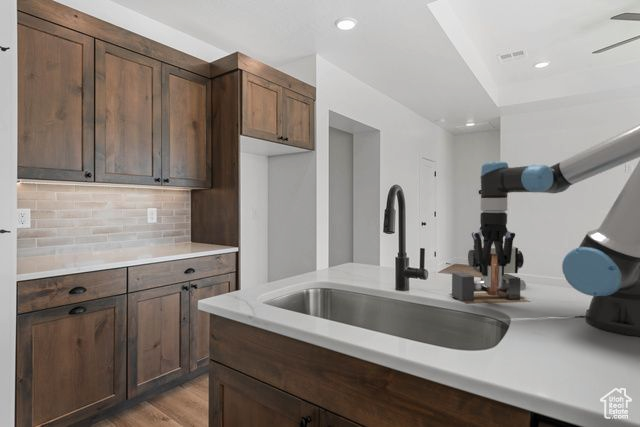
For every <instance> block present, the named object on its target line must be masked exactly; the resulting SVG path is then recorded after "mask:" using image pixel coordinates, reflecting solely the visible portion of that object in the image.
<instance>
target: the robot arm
mask: <svg viewBox="0 0 640 427" xmlns="http://www.w3.org/2000/svg"><path fill="white" fill-rule="evenodd" d="M638 158H640V123H639V124H636V125H635V126H632V127H631V128H629V129H626V130H625V131H622V132H620V133H618V134H616V135H613V136H611V137H609V138H607V139H606V140H603V141H601V142H599V143H597V144H594V145H593V146H591V147H589V148H586V149H585V150H582V151H580V152H578V153H576V154H574V155H572V156H570V157H568V158H566V159H563V160H561V161H560V162H558V163H555V164H553V165H551V166H548V165H546V164H531V165H525V166H516V167H509V163H508V162H506V161H490V162H486V163H483V164H482V166H481V172H480V194H481V195H480V211H482V212H480V217H479V218H480V221H479V222H480V223H479V224H480V227H479V230H477V231H476V232H472V233H471V237H472V239H473V244H474V245H473V249H475V261H476V263H479V264H481V265H482V273H481V276H482V277H484V286H487V287H491V266H488V265H489V259H490V253H491V246H492V245H493V242H494V244H495V251H496V253H497V254H498V287H502V276H503V275H504V274H505V273H504V266H506V265H507V264H510V262H511V253H512V247H513V245H514V244H513V243H514V239H515V236H516V233H515V232H511V231H509V230H508V228H507V224H508V213H507V211H508V194H509V193H511V194H512V193H545V194H559V193H563V192H565V191H567V190H568V189H569V188H570V187H571V186H572V185H575V184H577V183H580V182H582V181H585V180H587V179H589V178H592V177H595V176H596V175H599V174H602V173H605V172H607V171H609V170H612V169H614V168H617V167H618V166H621V165H623V164H626V163H628V162H632V161H634V160H635V159H638ZM482 238H483V240H482ZM482 245H484V246H483V252H482ZM503 246H504V250H503ZM561 268H562V273H563V275H564V278H565V280H566V282H567V283H568V284H569V285H570V286H571V287H572V288H573V289H575V290H576V291H578V292H579V293H581V294H583V295H587V296H592V298H591V301H590V304H589V307H588V309H587V310H586V312H585V321H586V323H588V325H591V326H593V327H596V328H598V329H601V330H604V331H608V332H611V333H616V334H622V335H628V336H634V337H640V160H639V161H638V162H637V164H636V166H635V168H634V169H633V171H632V172H631V174H630V176H629V177H628V180H627V181H626V182H625V184H624V185H623V188H622V189H621V191H620V193H619V194H618V195H617V197H616V199H615V201H614V202H613V204H612V206H611V207H610V210H609V211H608V213H607V214H606V215H605V217H604V219H603V221H602V222H601V224H600V225H599V227H598V228H597V229H593V230H590V231H587V232H586V234H585V236H584V238H582V241H581V242H580V245H579V246H578V247H576V248H573V249H572V250H570V251H569V252H568V253H567V254H566V255H565V257H564V258H563V260H562V265H561Z"/></svg>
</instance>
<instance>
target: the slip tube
mask: <svg viewBox="0 0 640 427" xmlns="http://www.w3.org/2000/svg"><path fill="white" fill-rule="evenodd" d="M488 266H491V287H487V286H484V281H480V280H474V293H481V292H484V293H488V295H492V296H496V295H497V291H506V280H502V287H498V254H497V253H490V259H489V265H488ZM526 287H527V286H526V282H525V281H524V280H523V279H520V292H521V291H525V290H526V289H527V288H526Z"/></svg>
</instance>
